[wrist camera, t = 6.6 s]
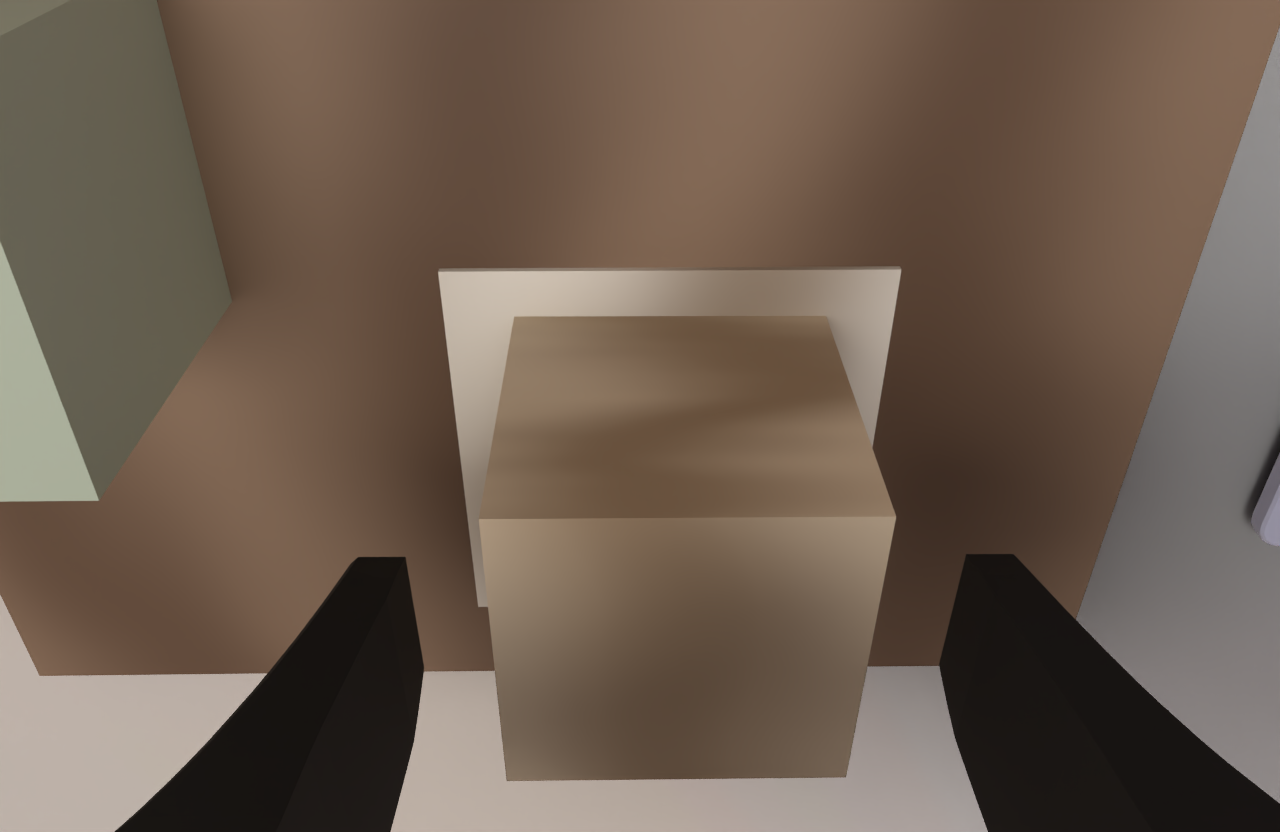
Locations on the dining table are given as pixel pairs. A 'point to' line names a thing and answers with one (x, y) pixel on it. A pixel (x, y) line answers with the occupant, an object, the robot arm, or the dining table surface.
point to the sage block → (94, 242)
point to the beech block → (680, 549)
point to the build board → (645, 281)
